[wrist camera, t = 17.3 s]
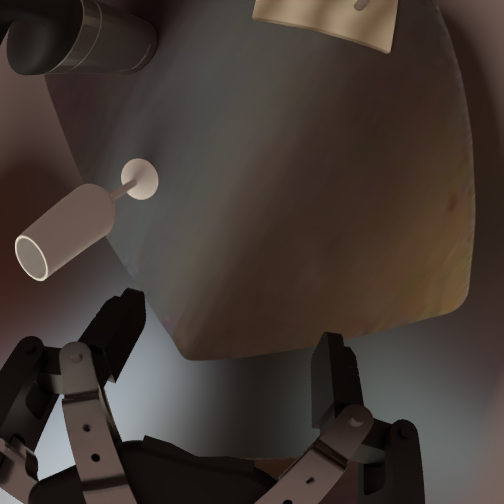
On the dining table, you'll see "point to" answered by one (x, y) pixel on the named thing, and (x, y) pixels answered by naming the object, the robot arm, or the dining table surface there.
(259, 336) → the dining table surface
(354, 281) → the dining table surface
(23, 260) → the champagne flute
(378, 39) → the peg board
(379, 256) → the dining table surface
